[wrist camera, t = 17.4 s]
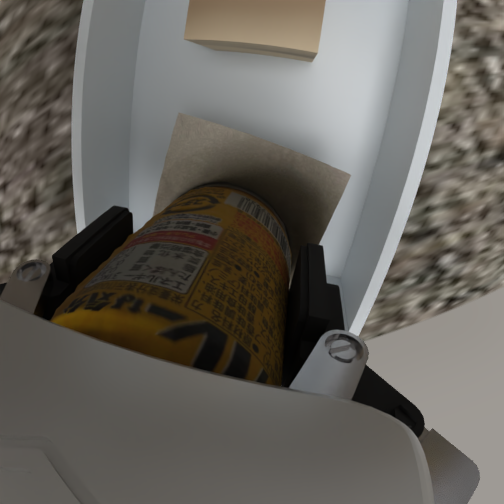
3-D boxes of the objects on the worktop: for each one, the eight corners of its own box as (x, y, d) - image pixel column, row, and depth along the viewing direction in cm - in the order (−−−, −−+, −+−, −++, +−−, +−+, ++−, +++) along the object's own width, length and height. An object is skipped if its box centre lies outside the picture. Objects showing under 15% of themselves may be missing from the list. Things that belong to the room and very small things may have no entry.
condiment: (141, 279, 16) (4, 479, 5) (180, 111, 12) (-133, 212, 1) (275, 329, 16) (240, 574, 5) (350, 172, 12) (509, 471, 2)
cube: (228, -31, 12) (202, -66, 8) (324, -21, 12) (333, -57, 7) (215, 50, 14) (183, 39, 10) (312, 62, 14) (317, 53, 10)
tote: (157, -70, 11) (113, -104, 6) (419, -38, 10) (459, -71, 5) (126, 237, 21) (84, 282, 17) (345, 281, 21) (355, 341, 16)
